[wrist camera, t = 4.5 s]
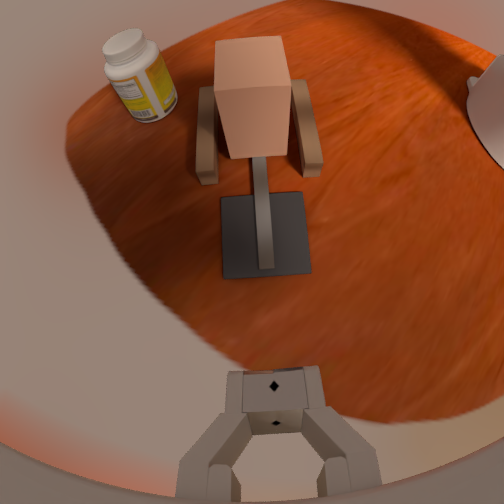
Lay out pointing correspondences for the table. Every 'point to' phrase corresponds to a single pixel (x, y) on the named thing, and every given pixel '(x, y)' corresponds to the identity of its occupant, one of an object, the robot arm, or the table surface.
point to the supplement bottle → (139, 75)
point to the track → (209, 157)
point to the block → (253, 95)
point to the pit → (283, 234)
